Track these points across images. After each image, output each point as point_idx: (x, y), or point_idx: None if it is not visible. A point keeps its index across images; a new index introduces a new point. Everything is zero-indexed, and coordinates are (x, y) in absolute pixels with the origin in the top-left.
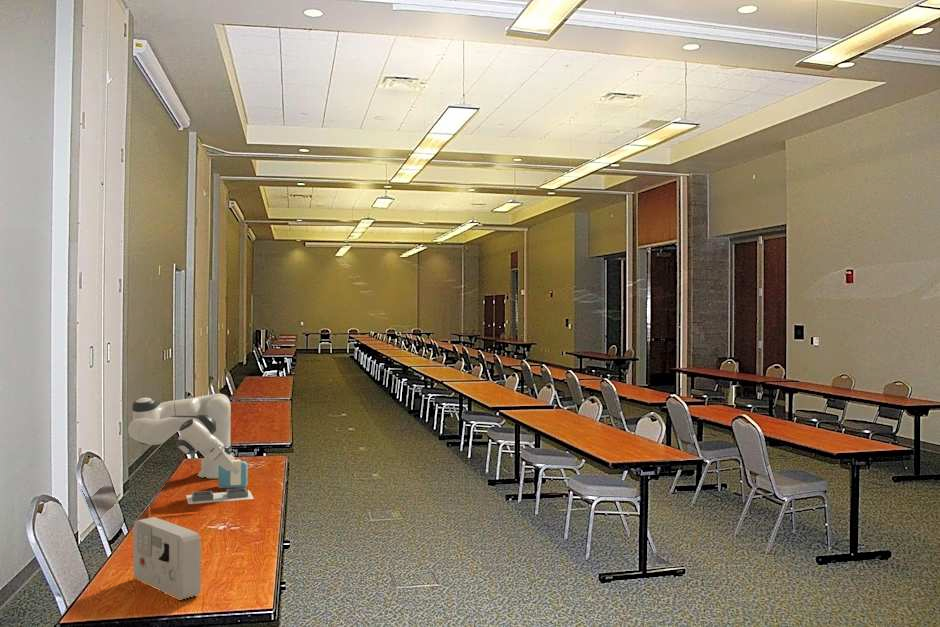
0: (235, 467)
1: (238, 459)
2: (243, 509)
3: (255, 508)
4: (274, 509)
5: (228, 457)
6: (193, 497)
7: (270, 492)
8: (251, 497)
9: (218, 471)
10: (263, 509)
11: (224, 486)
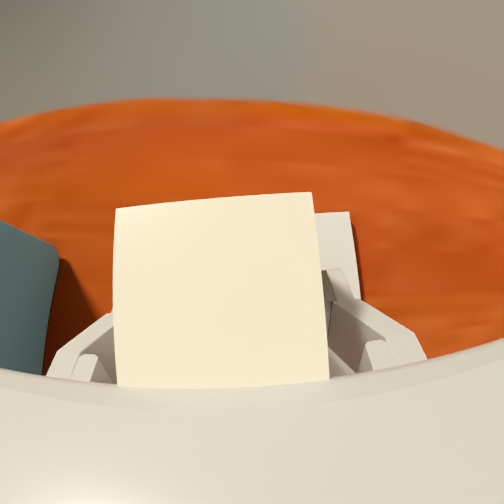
0: (379, 312)
1: (115, 240)
2: (482, 273)
3: (473, 220)
4: (482, 153)
5: (270, 498)
6: None
7: (169, 132)
8: (316, 223)
9: None
10: (485, 191)
11: (33, 359)
